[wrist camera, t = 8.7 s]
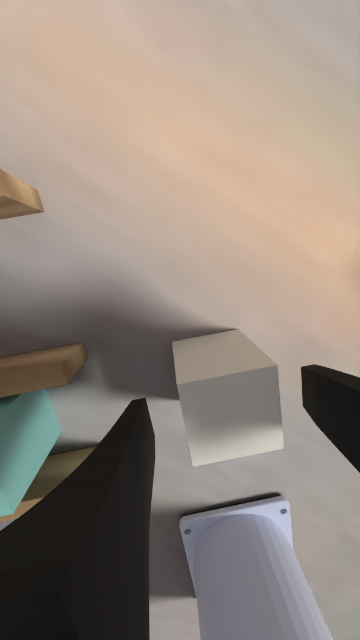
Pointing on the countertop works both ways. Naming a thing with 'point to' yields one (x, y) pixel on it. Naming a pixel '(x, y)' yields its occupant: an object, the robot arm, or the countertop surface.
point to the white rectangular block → (227, 397)
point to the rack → (38, 363)
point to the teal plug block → (23, 443)
